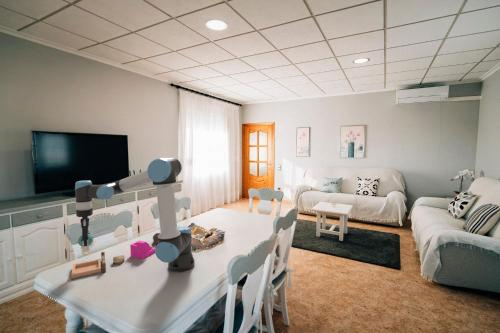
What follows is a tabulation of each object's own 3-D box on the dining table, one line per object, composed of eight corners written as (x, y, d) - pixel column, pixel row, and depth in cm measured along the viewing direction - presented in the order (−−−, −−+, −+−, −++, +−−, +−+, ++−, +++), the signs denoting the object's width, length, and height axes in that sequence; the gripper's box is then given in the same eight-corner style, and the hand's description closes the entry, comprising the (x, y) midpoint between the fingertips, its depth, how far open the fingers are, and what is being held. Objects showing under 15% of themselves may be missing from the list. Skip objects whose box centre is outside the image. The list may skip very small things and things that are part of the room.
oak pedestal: (124, 262, 146) (124, 258, 146) (113, 265, 143) (113, 260, 143) (123, 258, 151) (123, 254, 151) (112, 261, 148) (112, 256, 148)
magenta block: (143, 259, 151) (142, 243, 151) (130, 256, 155) (130, 240, 154) (156, 251, 163) (156, 236, 162) (144, 249, 166) (144, 234, 165)
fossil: (163, 237, 186) (166, 227, 183) (168, 245, 181) (172, 235, 178) (149, 240, 178) (153, 230, 174) (155, 249, 173) (158, 239, 169)
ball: (93, 247, 135) (92, 234, 134) (77, 249, 131) (77, 237, 130) (93, 242, 140) (92, 231, 140) (78, 245, 137) (78, 233, 136)
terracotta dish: (101, 272, 135) (101, 268, 135) (71, 279, 128) (71, 274, 127) (100, 262, 146) (100, 258, 146) (73, 268, 139) (73, 264, 139)
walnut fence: (106, 272, 135) (105, 263, 135) (102, 273, 134) (101, 264, 134) (104, 259, 150) (104, 251, 149) (101, 260, 149) (101, 252, 148)
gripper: (92, 212, 128) (93, 254, 129) (92, 204, 144) (93, 241, 146) (74, 213, 124) (76, 257, 125) (77, 205, 140) (78, 244, 142)
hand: (86, 248), depth 136 cm, fingers closed on ball, 7 cm apart
